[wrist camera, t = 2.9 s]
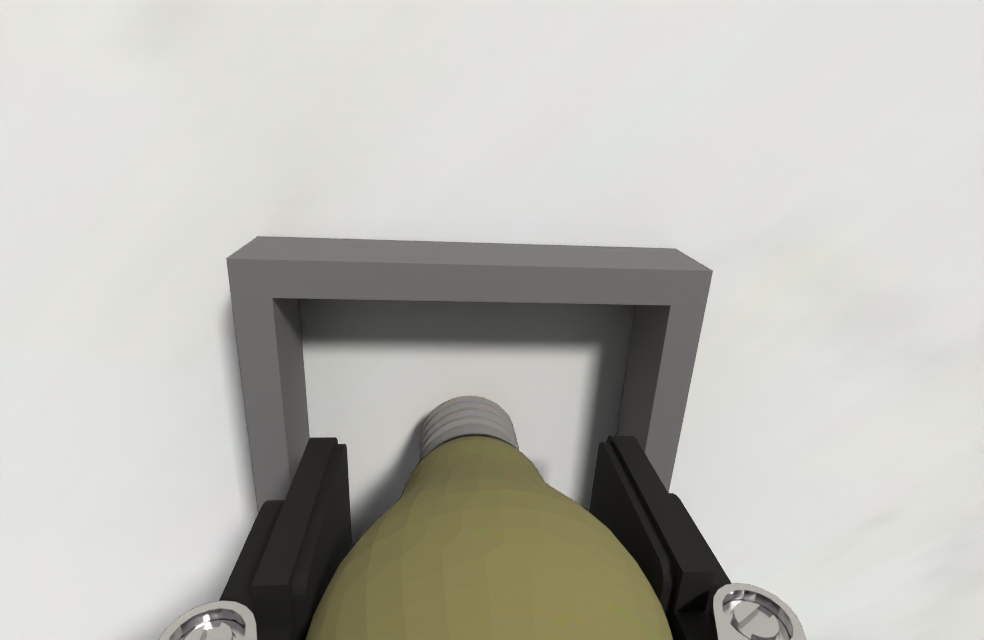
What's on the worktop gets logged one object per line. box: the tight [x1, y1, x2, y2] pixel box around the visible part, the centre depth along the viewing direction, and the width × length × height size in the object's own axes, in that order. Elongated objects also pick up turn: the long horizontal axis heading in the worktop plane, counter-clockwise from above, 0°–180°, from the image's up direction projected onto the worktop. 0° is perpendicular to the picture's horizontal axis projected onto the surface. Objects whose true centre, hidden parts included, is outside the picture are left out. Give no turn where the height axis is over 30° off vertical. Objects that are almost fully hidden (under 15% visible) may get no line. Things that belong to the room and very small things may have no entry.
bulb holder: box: [226, 236, 713, 513], centre depth 14 cm, size 10×10×2 cm
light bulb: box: [306, 396, 673, 640], centre depth 10 cm, size 6×6×10 cm
